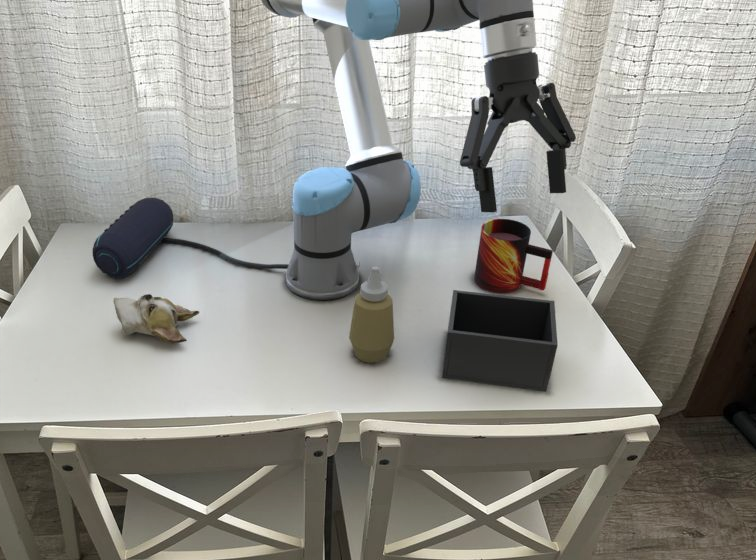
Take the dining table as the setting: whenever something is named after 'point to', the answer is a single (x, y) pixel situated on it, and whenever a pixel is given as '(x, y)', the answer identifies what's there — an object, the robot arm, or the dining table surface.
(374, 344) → the squeeze bottle
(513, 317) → the bin
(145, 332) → the ceramic sculpture
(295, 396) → the dining table surface
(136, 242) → the portable speaker
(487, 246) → the mug
